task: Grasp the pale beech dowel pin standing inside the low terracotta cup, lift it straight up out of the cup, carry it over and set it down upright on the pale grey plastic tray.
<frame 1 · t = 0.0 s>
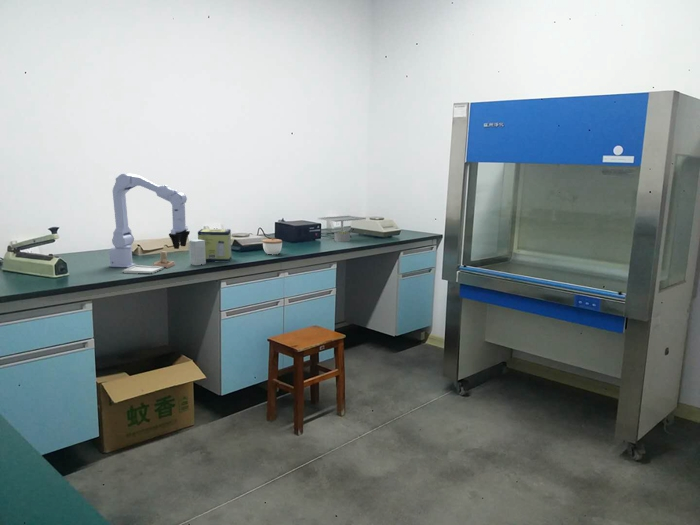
hand: (179, 247, 264), 10 cm above the worktop, tool pointing down, fingers open, 7 cm apart
skincare box: (198, 264, 277), on the worktop
tray: (143, 270, 258), on the worktop
dowel pin: (163, 258, 270), in the pin cup
pin cup: (164, 266, 270), on the worktop
solar panel model: (341, 240, 369), on the worktop
lidded jar: (272, 254, 311), on the worktop
protein box: (215, 260, 289), on the worktop
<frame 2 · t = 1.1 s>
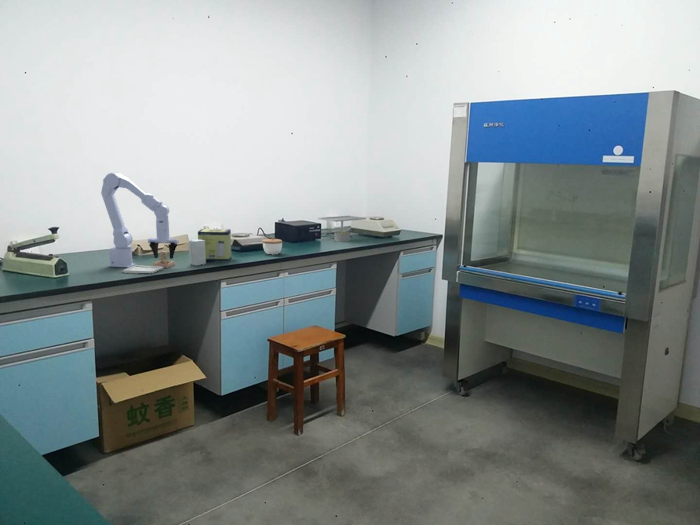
hand: (163, 258, 270), 4 cm above the worktop, tool pointing down, fingers open, 7 cm apart
nothing on the worktop moved.
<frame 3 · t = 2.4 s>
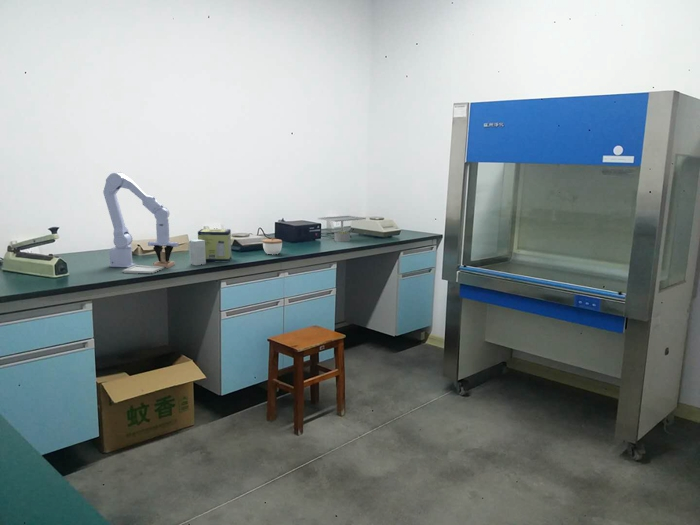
hand: (163, 261, 270), 2 cm above the worktop, tool pointing down, fingers closed on dowel pin, 3 cm apart
dowel pin: (163, 258, 270), in the pin cup, touching gripper
everything else where it was.
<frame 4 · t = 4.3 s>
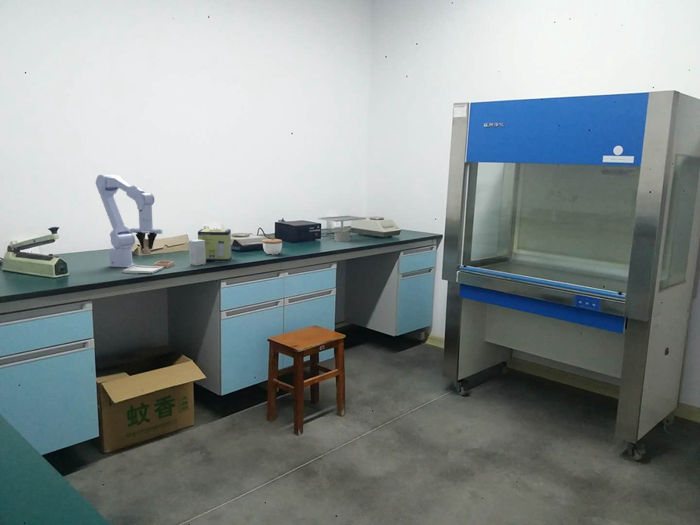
hand: (147, 248, 259), 10 cm above the worktop, tool pointing down, fingers closed on dowel pin, 3 cm apart
dowel pin: (147, 246, 259), point 11 cm above the worktop, touching gripper
everything else where it was.
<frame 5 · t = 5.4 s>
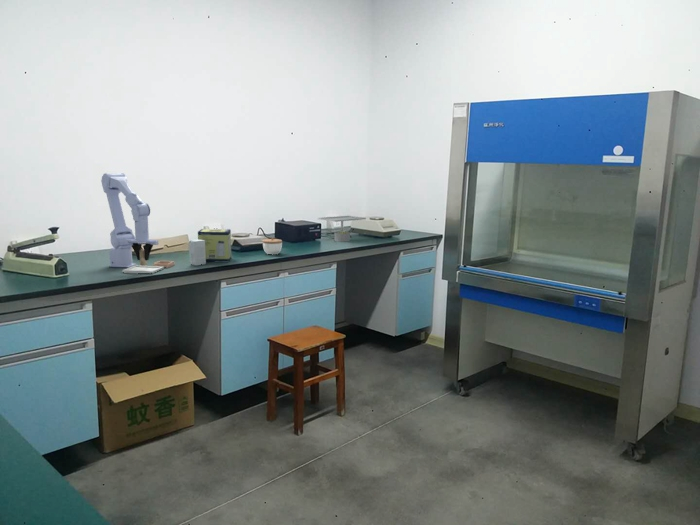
hand: (143, 259, 257), 5 cm above the worktop, tool pointing down, fingers closed on dowel pin, 3 cm apart
dowel pin: (143, 257, 257), point 6 cm above the worktop, touching gripper
everything else where it was.
when the fingers open (4 cm above the worktop, at t = 6.4 s): dowel pin stays where it is, resting on tray.
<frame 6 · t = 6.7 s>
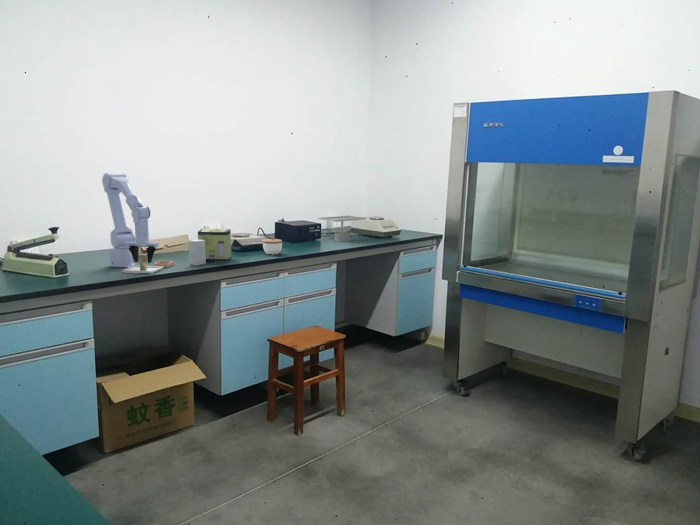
hand: (143, 262, 257), 4 cm above the worktop, tool pointing down, fingers open, 6 cm apart
dowel pin: (143, 262, 257), point 4 cm above the worktop, touching tray
everything else where it was.
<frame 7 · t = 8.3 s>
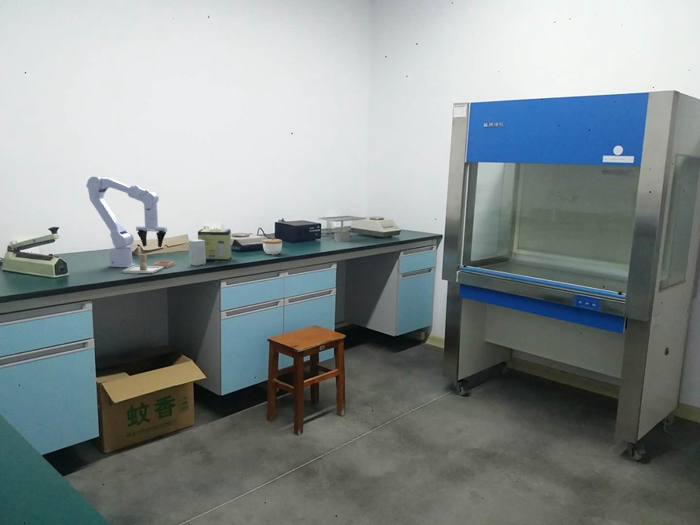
hand: (152, 246, 266), 10 cm above the worktop, tool pointing down, fingers open, 7 cm apart
nothing on the worktop moved.
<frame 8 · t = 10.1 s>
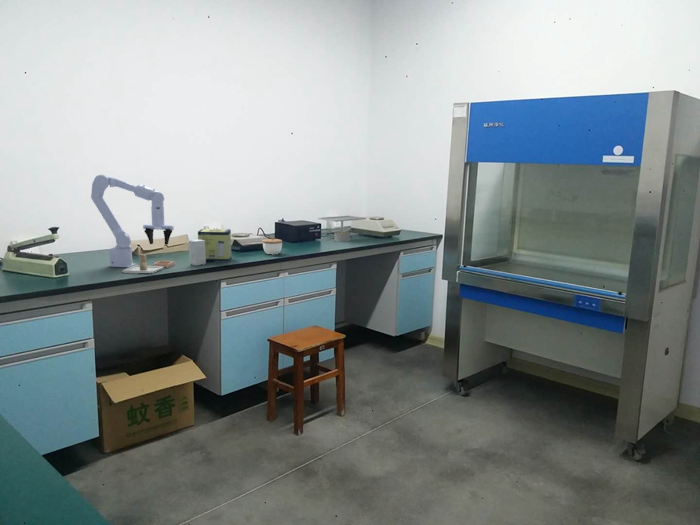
hand: (159, 244, 273), 10 cm above the worktop, tool pointing down, fingers open, 7 cm apart
nothing on the worktop moved.
at the end: dowel pin inside the target area on the tray (0.1 cm from its centre), point 4.1 cm above the tray's base; dowel pin tilted 0°; the gripper is holding nothing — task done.
